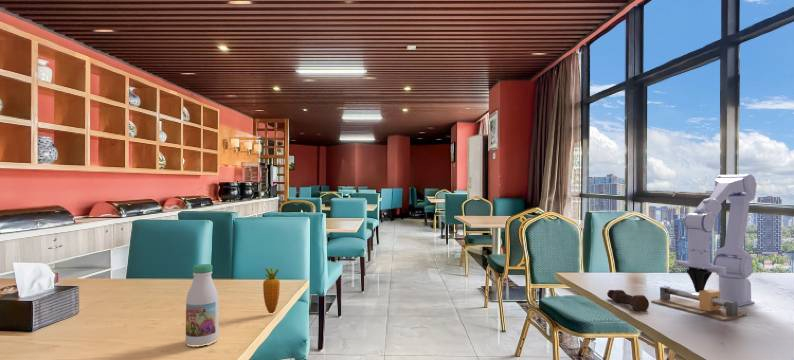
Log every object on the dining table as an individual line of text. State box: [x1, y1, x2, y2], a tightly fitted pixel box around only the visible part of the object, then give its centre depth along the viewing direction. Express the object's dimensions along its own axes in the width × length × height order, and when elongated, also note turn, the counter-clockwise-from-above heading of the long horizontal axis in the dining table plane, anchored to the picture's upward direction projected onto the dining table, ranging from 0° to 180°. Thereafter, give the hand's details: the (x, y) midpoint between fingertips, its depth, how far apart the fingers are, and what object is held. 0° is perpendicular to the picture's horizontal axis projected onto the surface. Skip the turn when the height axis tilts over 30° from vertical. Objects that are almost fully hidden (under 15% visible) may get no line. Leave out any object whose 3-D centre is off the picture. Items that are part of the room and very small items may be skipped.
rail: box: [659, 285, 739, 317], centre depth 134 cm, size 22×3×5 cm, turn 25°
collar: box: [698, 288, 722, 311], centre depth 130 cm, size 3×6×6 cm, turn 115°
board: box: [650, 296, 748, 322], centre depth 134 cm, size 22×12×1 cm, turn 25°
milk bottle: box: [185, 263, 220, 345], centre depth 107 cm, size 8×8×20 cm
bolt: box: [606, 289, 650, 313], centre depth 139 cm, size 6×5×15 cm
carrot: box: [262, 266, 281, 314], centre depth 129 cm, size 5×5×15 cm
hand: (699, 292), depth 133 cm, fingers closed
